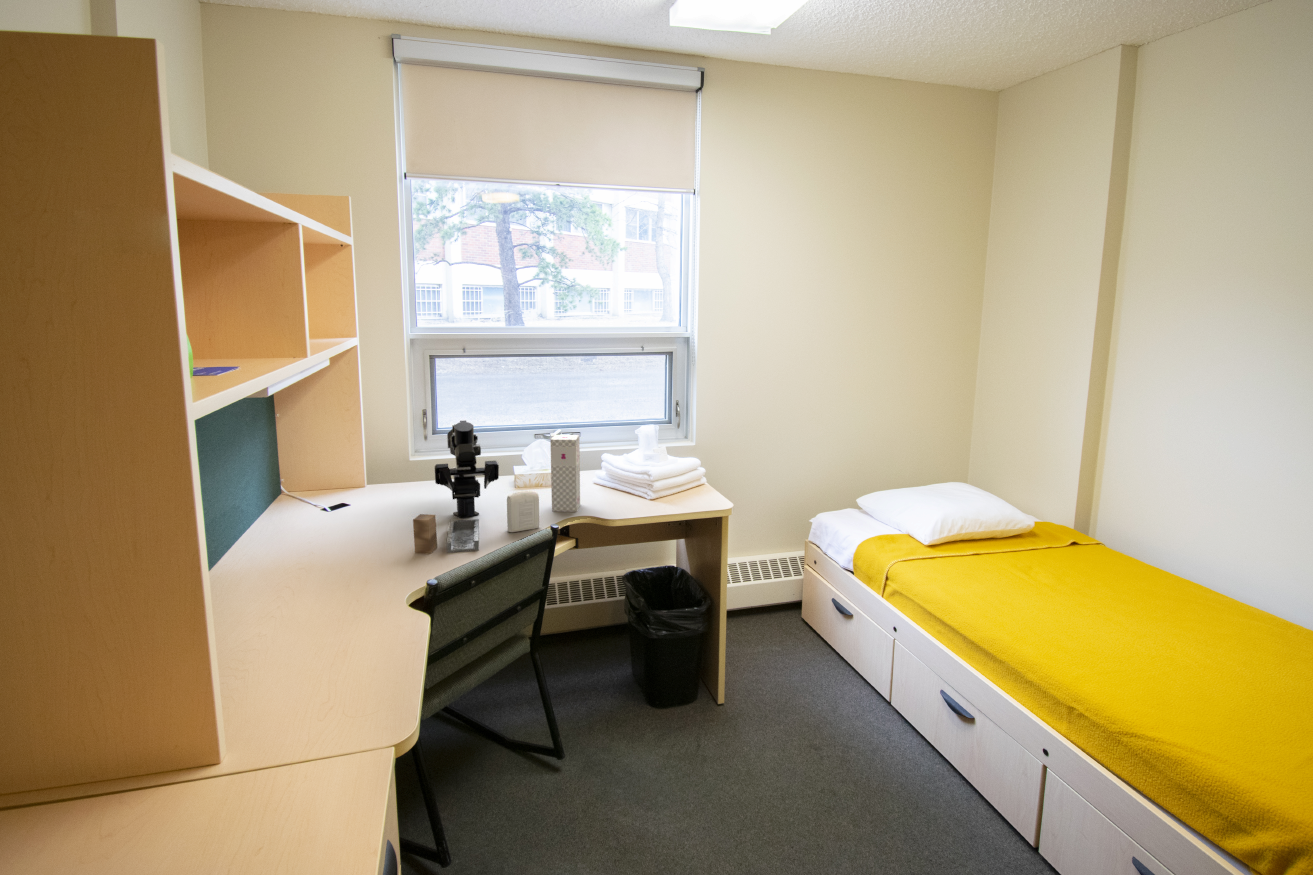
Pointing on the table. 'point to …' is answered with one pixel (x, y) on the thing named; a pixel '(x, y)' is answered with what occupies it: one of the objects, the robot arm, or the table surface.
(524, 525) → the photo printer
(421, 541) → the wooden tall block
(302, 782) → the table surface
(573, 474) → the box
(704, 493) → the table surface
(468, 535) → the gray rectangular tray
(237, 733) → the table surface
